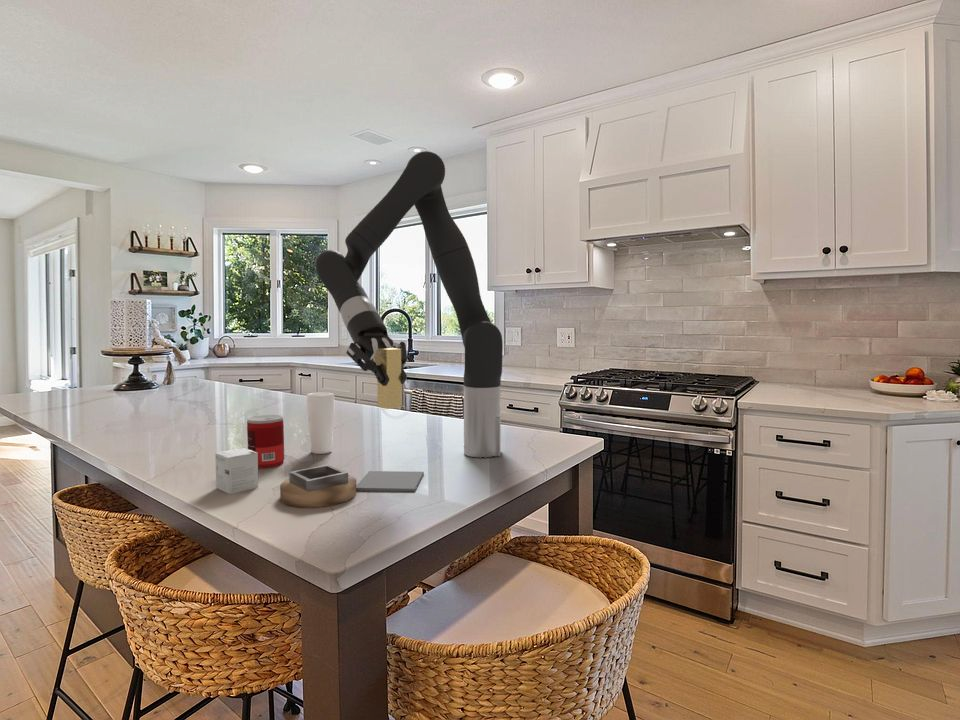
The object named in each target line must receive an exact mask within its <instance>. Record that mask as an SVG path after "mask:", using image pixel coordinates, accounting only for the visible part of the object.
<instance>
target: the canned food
mask: <svg viewBox="0 0 960 720" xmlns="http://www.w3.org/2000/svg"><path fill="white" fill-rule="evenodd" d="M284 427H285V425H284V416H283V415H280V414H265V415H263V414H261V415H256V416H254V415H253V416H250V417H248V418H247V420H246V430H247V431H246V436H247V449H248V450H252V451H254V452H257V453H258V469H268V468H274V467H279V466H281V465H283V463H284V461H285V433H284V431H285V428H284Z"/></svg>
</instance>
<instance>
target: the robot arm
mask: <svg viewBox="0 0 960 720" xmlns="http://www.w3.org/2000/svg"><path fill="white" fill-rule="evenodd" d="M445 176H446V165H445V162H444V161H443V159H442V157H441V156H439V155H438V154H437V153H435V152H433V151H429V150H423V151H419V152H416V154H414V155H413V156H412V157H411V158H410V159H409V160H408V162H407V164H406V166H405V168H404V170H403V172H402V173H401V175H400V176H399V178H398V179H397V181H395V183H394V184H393V186H392V187H391V189H389V191H388V192H387V193H386V194H385V195H384V196H383V197H382V199H381V200H380V201H378V203H377V204H376V205H375V206H374V207H373V208H372V209H371V210H370V211H369V212H368V213H367V214H366V215H365V216H364V217H363V218H362V220H361V221H359V222H358V224H357V225H356V226H355V227H354V228H353V229H352V230H351V231H350V232H349V233H348V234H347V236H346V237H345V241H344V242H345V245H346V248H347V253H346V255H345V256H344V255H343V254H342V253H341V252H339V251H337V250H335V249H328V250H324V251H322V252H321V253H320V254H319V255H318V256H317V258H316V260H315V265H314V266H315V272H316V273H317V275H318V277H319V279H320V281H321V282H322V284H323V285H324V287H325V288H326V290H327V291H328V293H330V295H331V297H332V299H333V301H334V304H335V306H336V308H337V309H338V311H339V314H340V316H341V319H342V322H343V324H344V326H345V328H346V330H347V332H348V334H349V335H350V338H351V341H353V342H351V343H350V344H349V346H348V348H347V351H346V352H345V353H346V355H348V356H349V358H351V360H352V361H354V363H355V364H356V365H357V366H358V367H359V368H361V370H362V371H364V372H367V371H371V373H373V374H374V376H375V378H376V381H377V380H378V382H379V383H380V384H382V386H386V385H387V384H388V382H389V377H388V375H387V374H386V372H385V370H384V368H383V366H380V365H381V362H380V360H379V358H378V352H377V349H382V348H396V349H401V385H403V384H404V383H405V382H406V381H407V378H408V375H407V373H406V371H405V369H404V366H405V365H406V363H407V362H408V353H407V345H406V342H404V341H400V342H399V343H398V342H394V341H393V339H392V338H391V337H389V335H388V329H387V327H386V324H385V323H384V321H383V319H382V318H381V316H380V314H379V312H378V310H377V308H376V307H375V305H374V304H373V303H372V302H371V300H370V298H369V296H368V295H367V293H366V290H365V289H364V287H362V285H361V284H360V282H359V280H360V278H361V276H362V274H363V273H364V271H365V268H366V267H367V265H368V262H369V261H370V258H371V257H372V256H373V255H374V254H375V253H376V251H377V250H379V248H380V247H381V246H382V245H383V244H384V243H385V242H386V240H387V239H388V238H389V237H390V236H391V234H392V233H393V232H394V230H395V229H396V228H397V226H398V225H399V224H400V222H401V221H402V220H403V218H404V217H405V216H406V214H408V213H409V211H410V210H411V209H412V208H413V207H415V209H416V210H417V211H416V212H417V213H418V215H419V218H420V221H421V223H422V227H423V230H424V234H425V237H426V241H427V244H428V247H429V250H430V253H431V257H432V259H433V262H434V265H435V268H436V271H437V274H438V276H439V278H440V281H441V284H442V286H443V287H444V290H445V292H446V295H447V297H448V298H449V300H450V302H451V304H452V306H453V309H454V312H455V315H456V318H457V322H458V326H459V330H460V335H461V340H462V345H463V347H464V372H463V454H464V455H465V456H467V457H473V458H482V457H484V458H493V456H494V457H501V450H502V449H501V447H502V446H501V441H502V439H501V434H502V432H501V431H502V430H501V425H502V424H501V385H502V384H501V380H502V373H503V351H504V350H503V347H504V346H503V344H504V343H503V335H502V333H501V331H500V329H499V328H498V327H497V325H495V324H493V323H492V322H491V319H490V318H489V314H488V312H487V311H486V308H485V305H484V303H483V301H482V296H481V291H480V284H479V279H478V273H477V270H476V266H475V262H474V259H473V255H472V253H471V251H470V247H469V245H468V242H467V240H466V238H465V236H464V234H463V233H462V231H461V229H460V228H459V227H458V225H457V224H456V222H455V220H454V219H453V217H452V216H451V214H450V212H449V209H448V206H447V204H446V201H445V196H444V193H443V189H442V185H443V182H444V180H445Z"/></svg>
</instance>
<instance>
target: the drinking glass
mask: <svg viewBox="0 0 960 720" xmlns="http://www.w3.org/2000/svg"><path fill="white" fill-rule="evenodd" d="M306 416H307V424H308V425H307V426H308V432H309V440H310V441H309V442H310V452H311V453H312V454H316V455H324V454H329V453H331V452H333V437H334V424H335V423H334V422H335V421H334V420H335V394H334V392H327V391H318V392H317V391H316V392H311V393H310V392H309V393H306Z"/></svg>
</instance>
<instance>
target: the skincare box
mask: <svg viewBox="0 0 960 720" xmlns="http://www.w3.org/2000/svg"><path fill="white" fill-rule="evenodd" d="M215 487H216V489H218V490H220V491H222V492H224V493H226V494H228V495H232V494H237V493H240V492H245V491H250V490H254V489H256V488H259V468H258V453H257V452H254V451H252V450H248V448H245V447H241V448H235V449H231V450H224V451H217V452H215Z"/></svg>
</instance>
